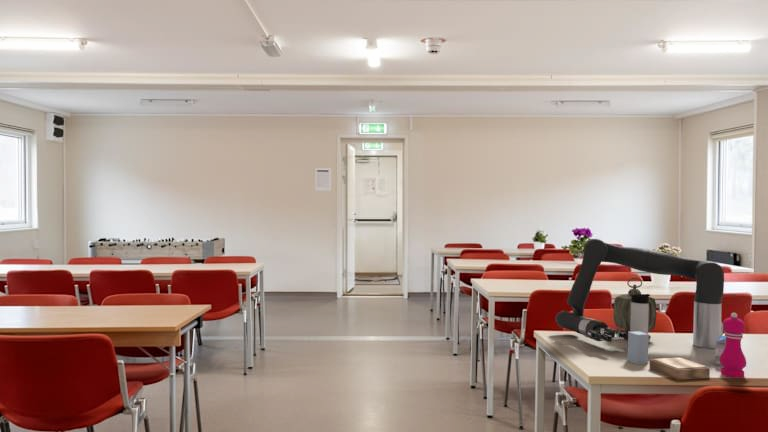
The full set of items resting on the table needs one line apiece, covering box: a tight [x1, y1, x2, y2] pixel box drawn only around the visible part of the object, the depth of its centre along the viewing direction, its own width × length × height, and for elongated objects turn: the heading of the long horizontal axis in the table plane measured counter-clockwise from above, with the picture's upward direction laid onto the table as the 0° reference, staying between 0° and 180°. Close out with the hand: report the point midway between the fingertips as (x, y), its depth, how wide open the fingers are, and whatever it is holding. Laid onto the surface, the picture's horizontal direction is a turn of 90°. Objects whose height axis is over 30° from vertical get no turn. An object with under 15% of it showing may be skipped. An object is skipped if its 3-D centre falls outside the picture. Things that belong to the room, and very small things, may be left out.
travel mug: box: [630, 293, 651, 334], centre depth 213 cm, size 6×7×20 cm
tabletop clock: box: [612, 277, 657, 340], centre depth 225 cm, size 14×9×25 cm, turn 104°
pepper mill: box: [720, 312, 747, 379], centre depth 175 cm, size 7×7×20 cm
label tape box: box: [714, 335, 726, 367], centre depth 189 cm, size 9×4×12 cm, turn 141°
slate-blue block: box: [627, 331, 650, 365], centre depth 188 cm, size 4×4×10 cm
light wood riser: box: [649, 356, 711, 381], centre depth 176 cm, size 12×12×3 cm
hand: (621, 338), depth 196 cm, fingers open, 8 cm apart
